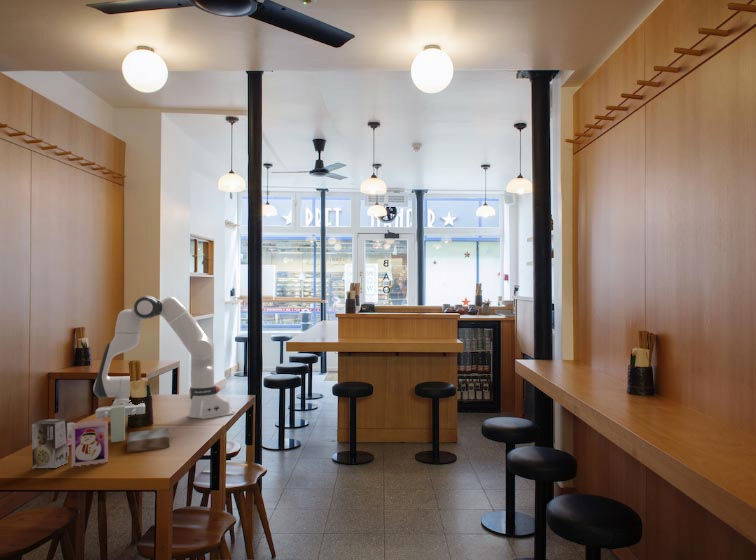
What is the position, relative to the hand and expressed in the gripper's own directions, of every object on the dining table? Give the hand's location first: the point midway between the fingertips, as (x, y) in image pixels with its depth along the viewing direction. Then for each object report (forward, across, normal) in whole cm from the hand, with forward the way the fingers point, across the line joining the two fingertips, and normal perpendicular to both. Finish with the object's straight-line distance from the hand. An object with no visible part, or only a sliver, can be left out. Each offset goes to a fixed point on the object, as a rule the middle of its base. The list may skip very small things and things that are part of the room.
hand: (119, 414), depth 224 cm
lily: (+24, -20, +8) cm, 32 cm away
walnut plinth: (+25, +12, +8) cm, 29 cm away
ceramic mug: (+8, -18, +8) cm, 21 cm away
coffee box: (+38, -20, +8) cm, 44 cm away
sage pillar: (+12, 0, +8) cm, 14 cm away
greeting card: (+40, -7, +8) cm, 41 cm away
